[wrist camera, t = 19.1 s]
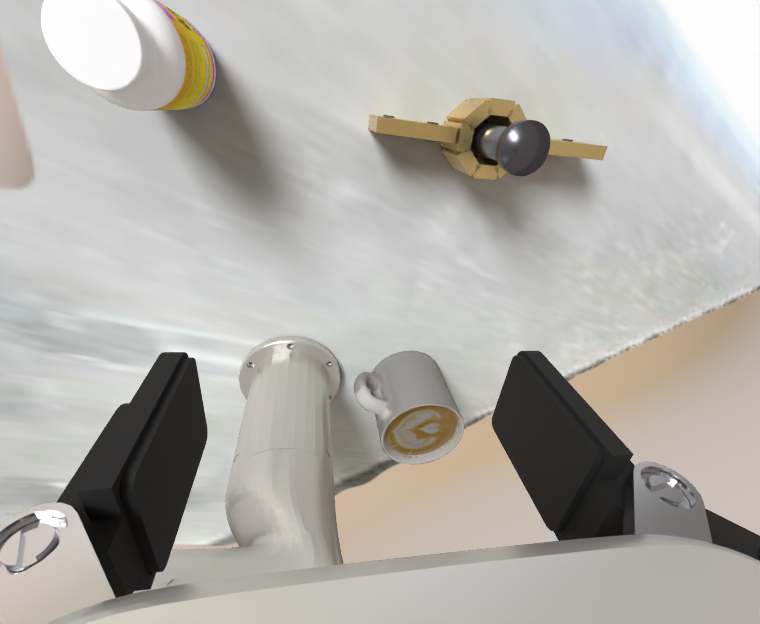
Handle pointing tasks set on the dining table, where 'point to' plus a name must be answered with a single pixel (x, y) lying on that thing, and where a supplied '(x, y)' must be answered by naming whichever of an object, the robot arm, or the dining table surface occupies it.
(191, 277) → the dining table surface
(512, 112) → the hinge base
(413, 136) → the wooden hinge leaf
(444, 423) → the coffee mug
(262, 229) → the dining table surface
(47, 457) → the dining table surface
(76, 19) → the supplement bottle
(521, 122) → the hinge pin
